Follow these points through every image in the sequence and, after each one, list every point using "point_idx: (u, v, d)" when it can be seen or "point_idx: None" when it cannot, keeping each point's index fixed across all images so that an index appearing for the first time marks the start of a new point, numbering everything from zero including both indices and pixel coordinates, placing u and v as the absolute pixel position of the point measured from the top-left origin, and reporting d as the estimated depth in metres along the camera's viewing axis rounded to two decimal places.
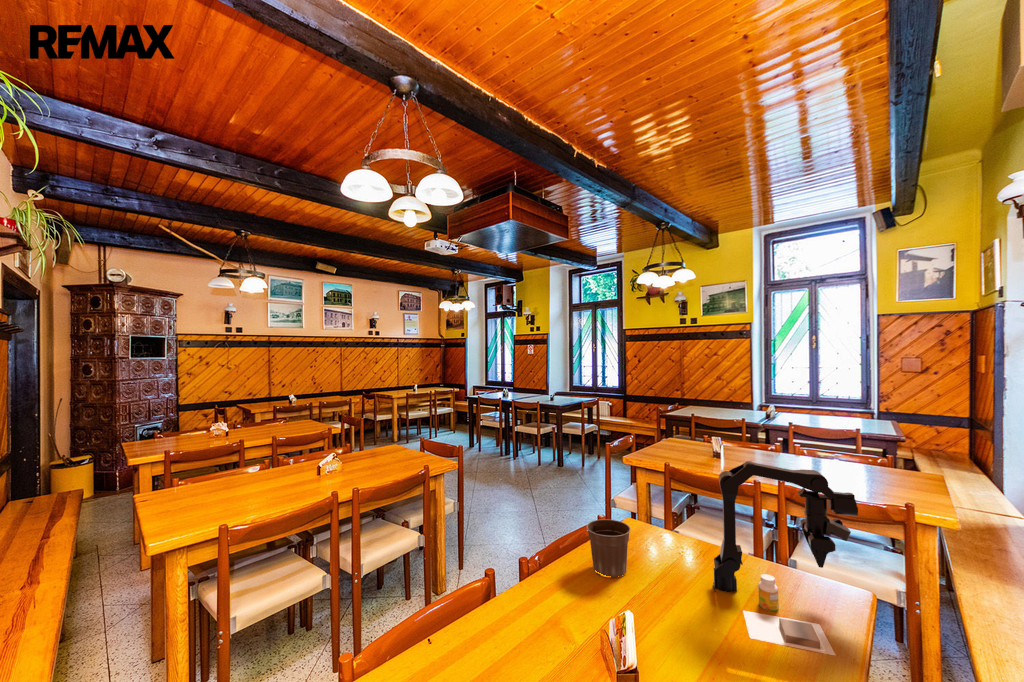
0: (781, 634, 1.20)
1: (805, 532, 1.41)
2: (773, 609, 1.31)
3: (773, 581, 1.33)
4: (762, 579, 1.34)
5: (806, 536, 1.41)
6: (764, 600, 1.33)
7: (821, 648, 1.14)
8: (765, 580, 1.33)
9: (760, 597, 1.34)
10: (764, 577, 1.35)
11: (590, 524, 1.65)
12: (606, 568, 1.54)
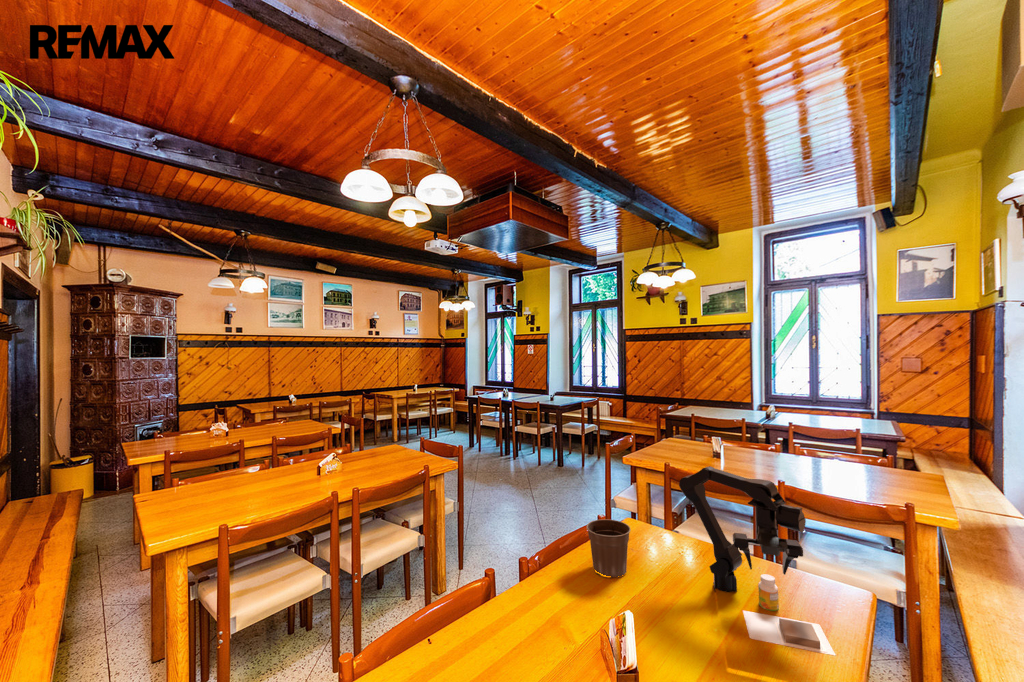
0: (781, 634, 1.20)
1: None
2: (773, 609, 1.31)
3: (773, 581, 1.33)
4: (762, 579, 1.34)
5: (783, 553, 1.35)
6: (764, 600, 1.33)
7: (821, 648, 1.14)
8: (765, 580, 1.33)
9: (760, 597, 1.34)
10: (764, 577, 1.35)
11: (590, 524, 1.65)
12: (606, 568, 1.54)
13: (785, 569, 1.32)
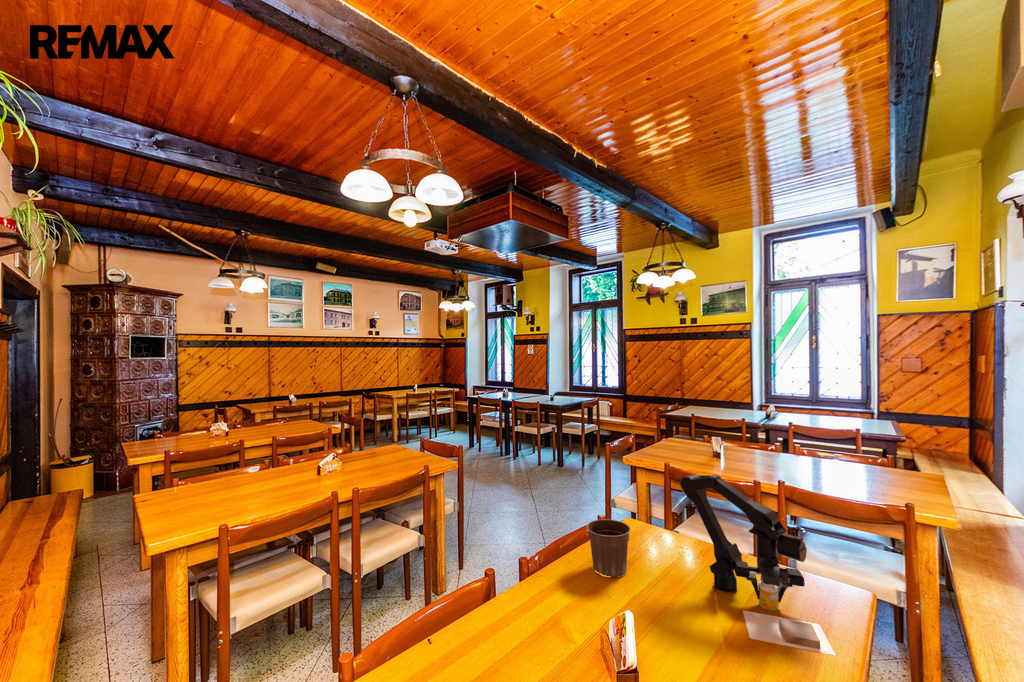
0: (781, 634, 1.20)
1: None
2: (773, 609, 1.31)
3: None
4: None
5: None
6: (764, 600, 1.33)
7: (821, 648, 1.14)
8: None
9: (760, 597, 1.34)
10: None
11: (590, 524, 1.65)
12: (606, 568, 1.54)
13: (780, 597, 1.32)
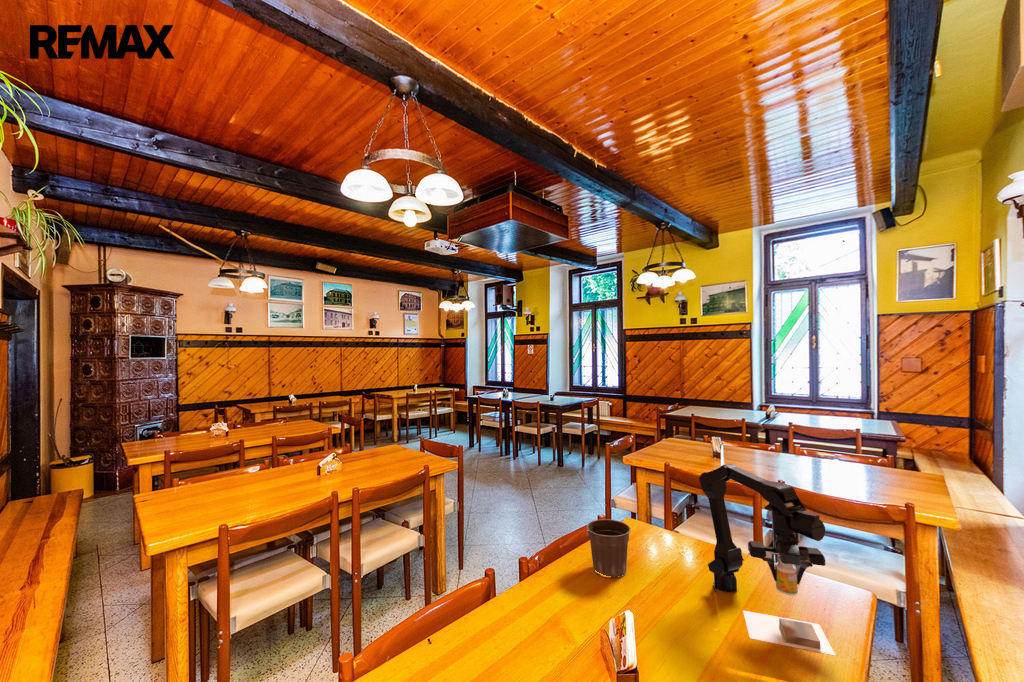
0: (781, 634, 1.20)
1: None
2: (792, 591, 1.23)
3: None
4: (779, 559, 1.25)
5: None
6: (781, 582, 1.24)
7: (821, 648, 1.14)
8: None
9: (777, 579, 1.25)
10: None
11: (590, 524, 1.65)
12: (606, 568, 1.54)
13: (799, 579, 1.23)
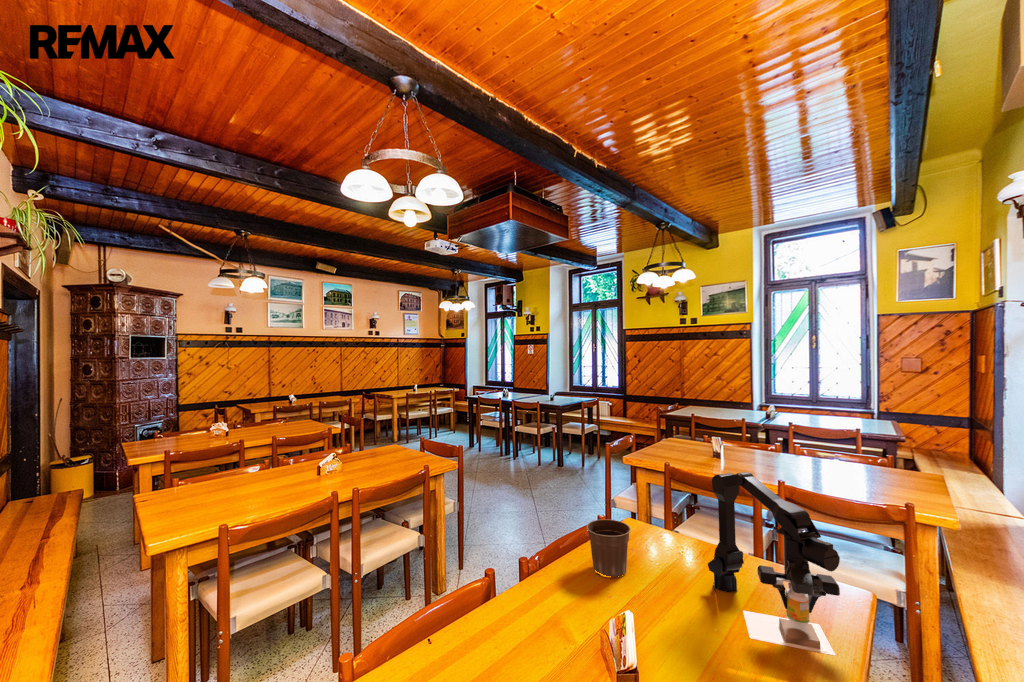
0: (781, 634, 1.20)
1: None
2: (803, 620, 1.17)
3: None
4: (790, 586, 1.20)
5: None
6: (792, 610, 1.18)
7: (821, 648, 1.14)
8: None
9: (788, 607, 1.20)
10: None
11: (590, 524, 1.65)
12: (606, 568, 1.54)
13: (811, 607, 1.18)
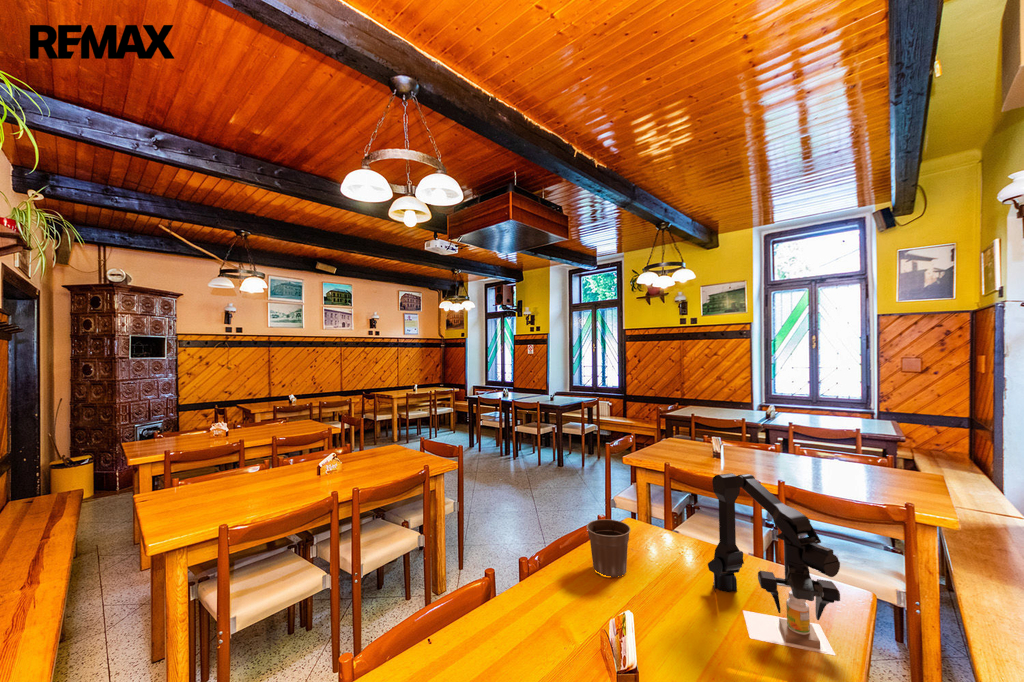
0: (781, 634, 1.20)
1: None
2: (804, 630, 1.17)
3: (804, 599, 1.18)
4: (791, 596, 1.19)
5: None
6: (793, 620, 1.18)
7: (821, 648, 1.14)
8: None
9: (789, 616, 1.19)
10: None
11: (590, 524, 1.65)
12: (606, 568, 1.54)
13: (819, 614, 1.17)
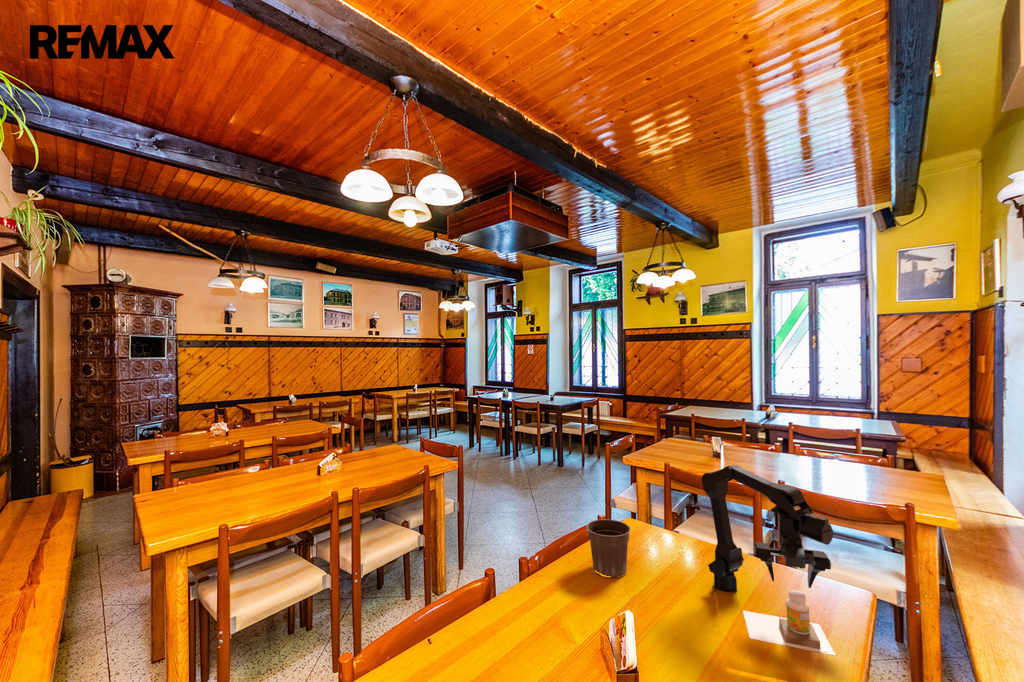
0: (781, 634, 1.20)
1: None
2: (804, 630, 1.17)
3: (804, 598, 1.18)
4: (791, 596, 1.19)
5: (808, 565, 1.26)
6: (793, 620, 1.18)
7: (821, 648, 1.14)
8: (794, 597, 1.19)
9: (789, 616, 1.19)
10: (793, 593, 1.20)
11: (590, 524, 1.65)
12: (606, 568, 1.54)
13: (811, 582, 1.23)
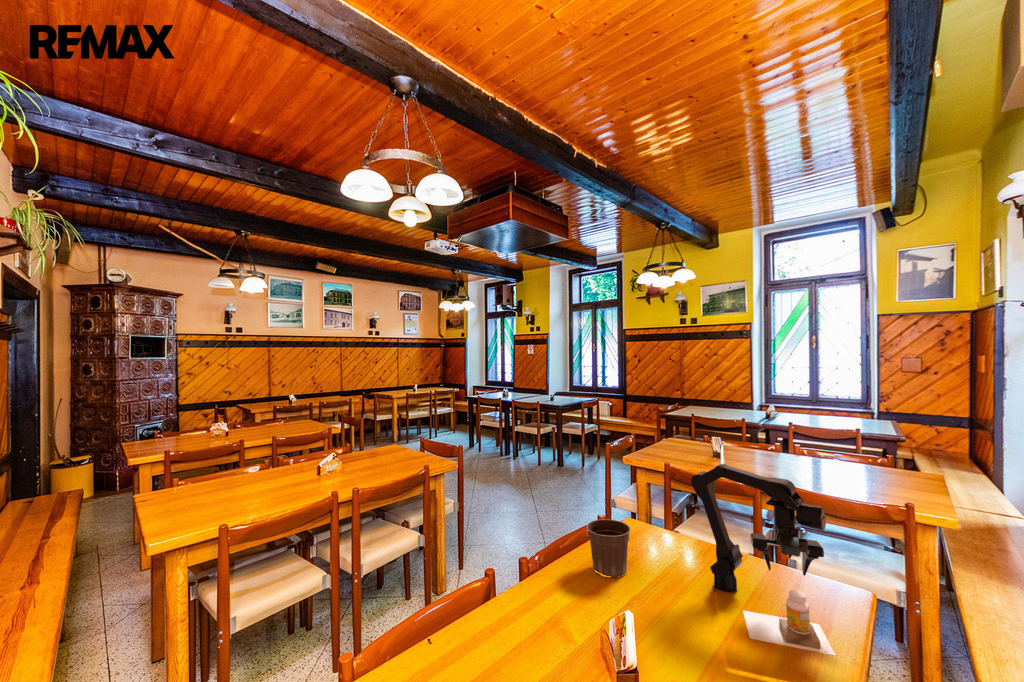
0: (781, 634, 1.20)
1: None
2: (804, 630, 1.17)
3: (804, 599, 1.18)
4: (791, 596, 1.19)
5: (802, 554, 1.32)
6: (793, 620, 1.18)
7: (821, 648, 1.14)
8: (795, 597, 1.19)
9: (789, 616, 1.19)
10: (793, 593, 1.20)
11: (590, 524, 1.65)
12: (606, 568, 1.54)
13: (805, 570, 1.29)
